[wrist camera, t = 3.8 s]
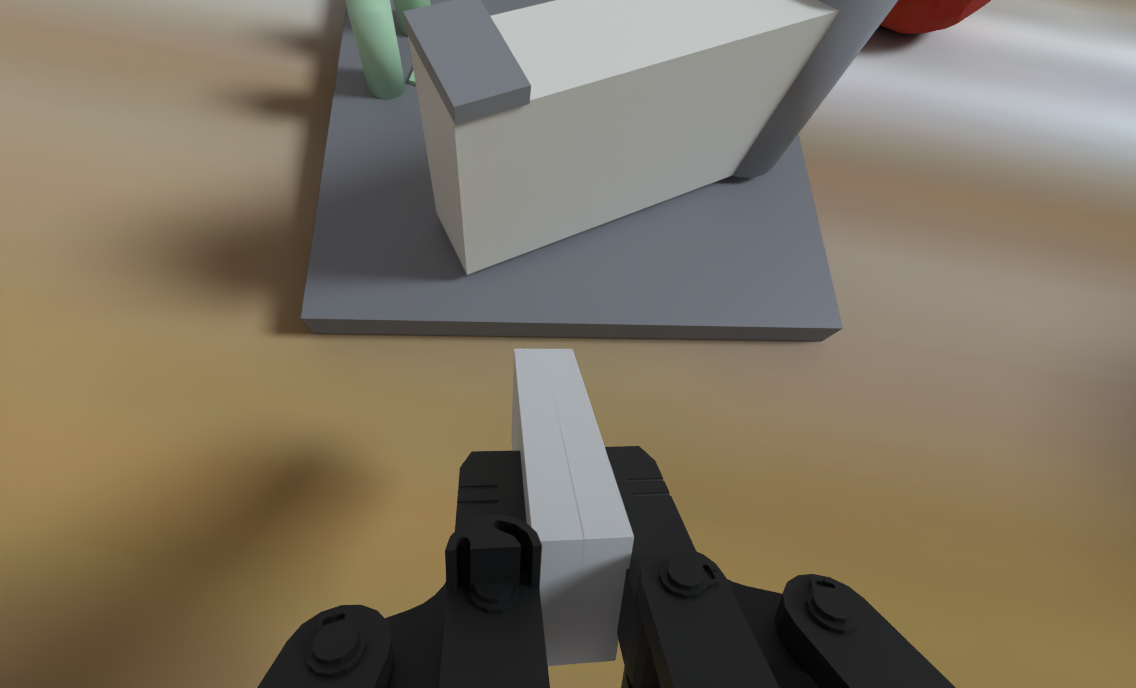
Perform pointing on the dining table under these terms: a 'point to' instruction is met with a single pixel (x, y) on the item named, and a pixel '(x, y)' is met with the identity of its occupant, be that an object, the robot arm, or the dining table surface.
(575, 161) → the white slab
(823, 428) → the dining table surface
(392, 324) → the dial plate
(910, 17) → the apple
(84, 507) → the dining table surface
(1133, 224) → the dining table surface
